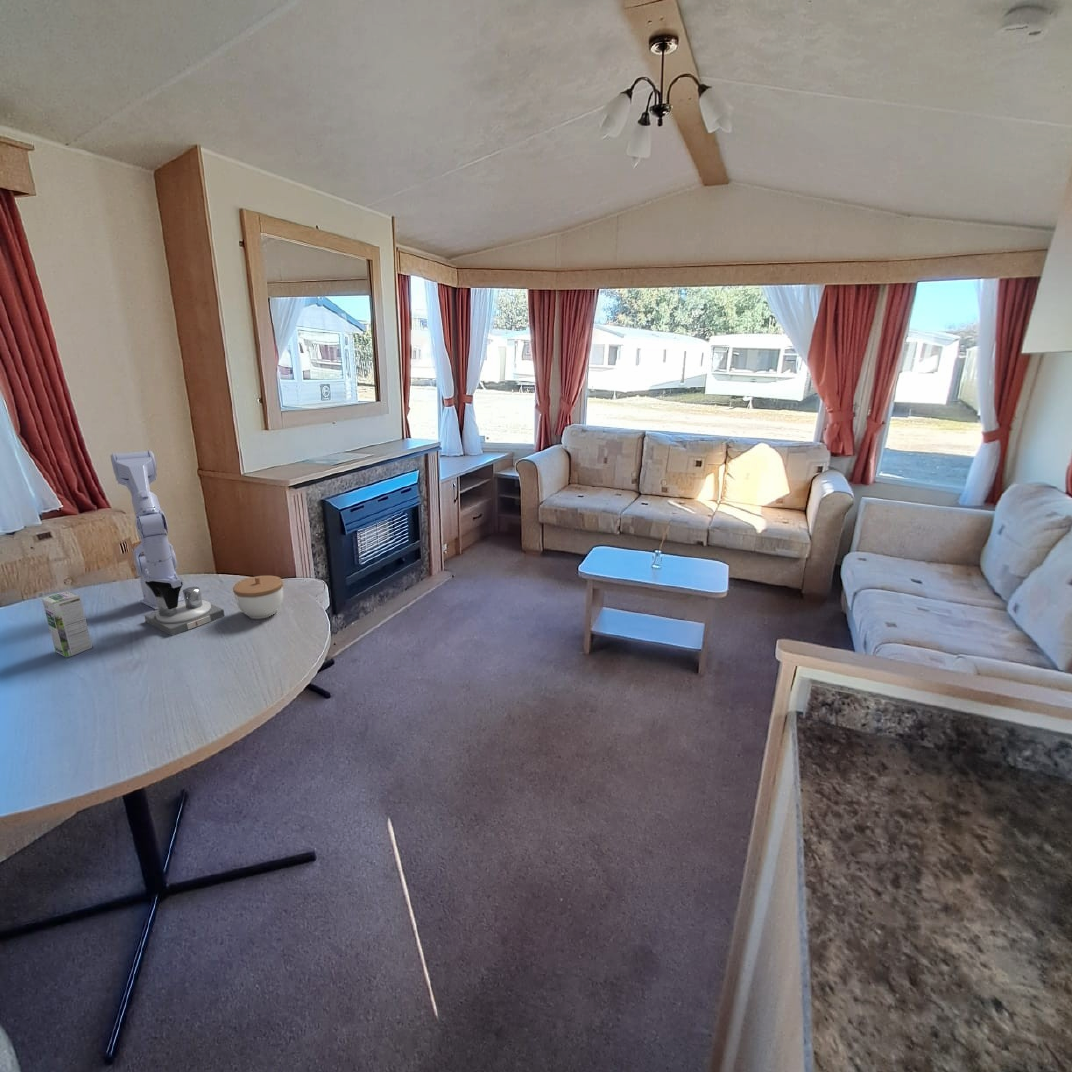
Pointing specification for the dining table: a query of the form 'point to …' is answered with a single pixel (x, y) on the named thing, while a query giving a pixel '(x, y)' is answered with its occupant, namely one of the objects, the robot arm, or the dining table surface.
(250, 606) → the lidded bowl
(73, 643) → the syrup box
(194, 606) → the cylinder
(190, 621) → the scale
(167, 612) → the cylinder
